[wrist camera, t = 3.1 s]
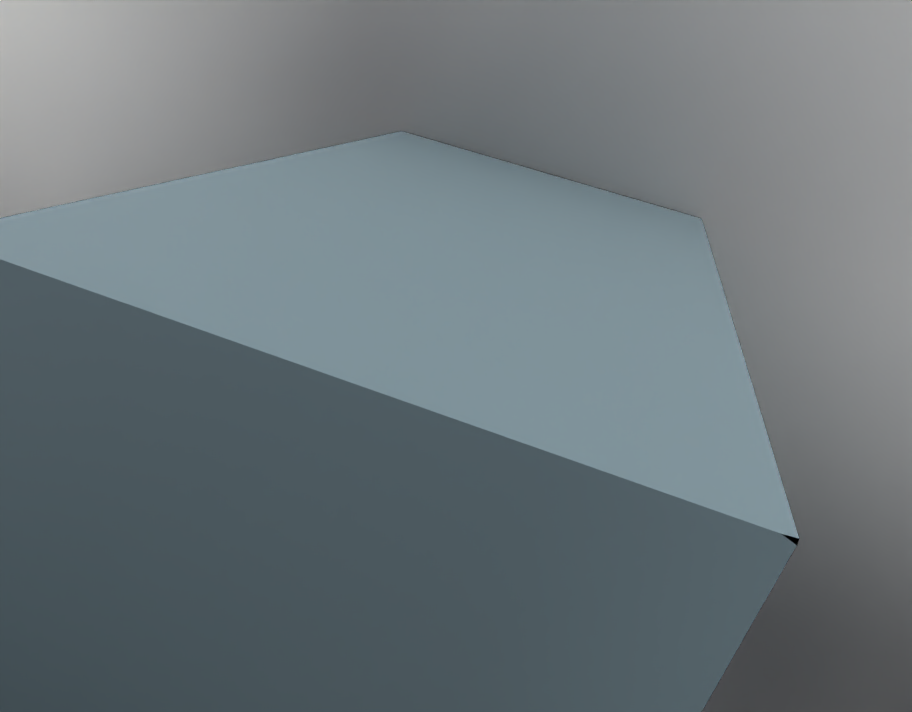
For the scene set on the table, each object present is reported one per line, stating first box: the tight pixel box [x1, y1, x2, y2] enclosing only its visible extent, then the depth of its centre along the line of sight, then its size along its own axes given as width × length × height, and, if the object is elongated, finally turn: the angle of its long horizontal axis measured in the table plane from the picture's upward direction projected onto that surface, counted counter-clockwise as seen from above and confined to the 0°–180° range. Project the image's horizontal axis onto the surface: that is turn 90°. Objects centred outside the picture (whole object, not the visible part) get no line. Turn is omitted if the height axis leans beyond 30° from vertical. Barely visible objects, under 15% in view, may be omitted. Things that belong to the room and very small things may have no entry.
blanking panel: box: [0, 131, 799, 712], centre depth 6 cm, size 9×3×5 cm, turn 166°
